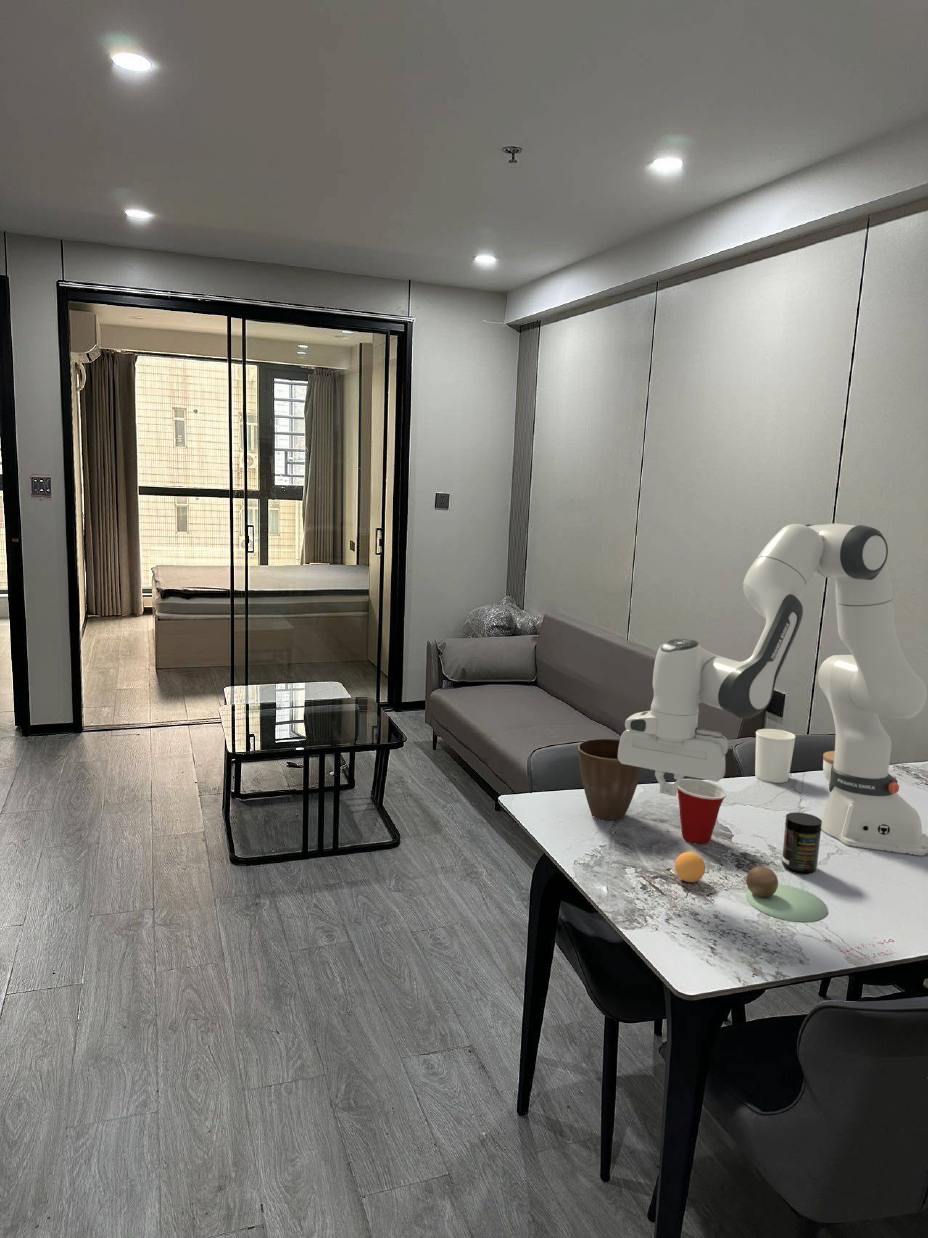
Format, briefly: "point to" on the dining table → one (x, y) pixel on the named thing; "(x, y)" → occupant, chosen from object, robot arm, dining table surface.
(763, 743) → the white tapered cylinder
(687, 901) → the dining table surface
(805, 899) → the sage mark
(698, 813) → the plastic cup
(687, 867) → the orange ball
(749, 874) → the walnut ball
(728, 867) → the dining table surface
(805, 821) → the supplement container
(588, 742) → the plant pot
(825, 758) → the lidded jar
